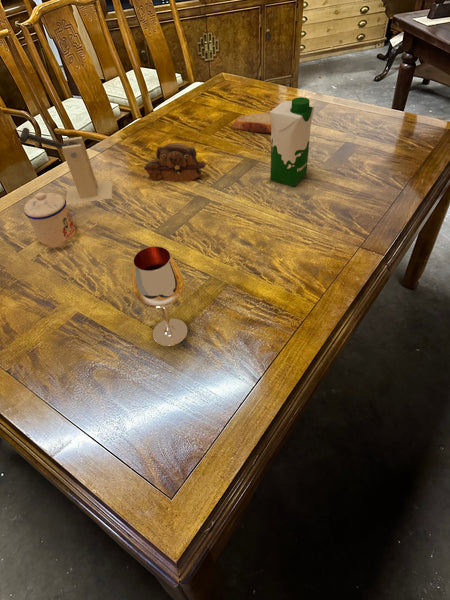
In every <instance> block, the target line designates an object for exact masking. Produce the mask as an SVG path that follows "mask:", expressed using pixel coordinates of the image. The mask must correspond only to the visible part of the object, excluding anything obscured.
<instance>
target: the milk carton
mask: <svg viewBox="0 0 450 600" xmlns="http://www.w3.org/2000/svg"><path fill="white" fill-rule="evenodd" d="M310 102H311V101H310V99H309V98H307V97H305V96H304V97H303V96H302V97H301V96H299V97H294V98H293V99H292V100H286V99H284V100H283V101H282V102H280V103H279V104H278V105H277V106H275V107H274V108H273V109H271V110H270V111H269V112H270V119H271V133H270V140H271V141H270V172H269V173H270V176H269V177H270V178H269V180H270V181H272V182H275V183H278V184H282V185H285V186H289V187H292V188H295V187H296V186H297V185H298V184H299V183H300V182H301V181H302V180H303V179H304V178H305V177H306V176H307V174H308V172H307V171H308V163H309V162H308V161H309V150H310V138H311V127H312V122H313V116H314V111H315V105H313V104H310Z"/></svg>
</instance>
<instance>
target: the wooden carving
mask: <svg viewBox="0 0 450 600" xmlns="http://www.w3.org/2000/svg"><path fill="white" fill-rule="evenodd" d="M155 156H156V159H151V160H149V161H148V162H146V163H145V165H144V167H143V170H144V171H146V173H147V174H148V175H149V177H150V180H152V181H159V180H161V179H162V180H163V181H165V182H192V181H194V180H196V179H197V178H199V177H200V176H201V174H202V173H203V172H202V169H204V168H205V167H206V165H207V162H206V161H203V160H202V161H201V160H200V161H198V159H197V150H196V149H195V147H194V146H188V145H186V144H183V143H178V142H174V143H168V144H165V145H163V146H161V145H159V146H157V148H156V154H155ZM200 169H201V170H200Z"/></svg>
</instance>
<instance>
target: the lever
mask: <svg viewBox="0 0 450 600" xmlns="http://www.w3.org/2000/svg"><path fill="white" fill-rule="evenodd" d="M28 140H29V141H33V142H36V143H40V144H43V145H47V146H51V147H54V148H58V149H61V150H62V147H64V146H71V145H78V144H77V143H74V142H69V145H67V144H64V142H60V141H57V140H53V139H49V138H47V137H44V136H43V137H42V136H39V135H36V134H33V133H30V129H29V128H28V127H23V128H22V131H21V133H20V136H19V142H20V143H22V144H25V143H27V141H28Z"/></svg>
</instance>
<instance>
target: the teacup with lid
mask: <svg viewBox="0 0 450 600" xmlns="http://www.w3.org/2000/svg"><path fill="white" fill-rule="evenodd" d="M23 213H24V215H25V216H26V217H27V219H28V221H29V223H30V224H31V227H32V229H33V231H34V233H35V235H36V237H37V239H38V241H39V242H40V243H41V244H44V245H43V246H44V247H46V248H48V249H49V248H51V249H53V248H54V249H55V248H60V247H61V248H62V247H63V246H66V245H68V244H70V243H71V242H72V241H71V240H69V239H71V238H72V237H73V236H74V235H75V233H76V230H77V229H76V226H75V223H74V220H73V218H72V215H71V213H70V211H69V209H68V205H66V198H65V197H64V196H63V195H61V194H59V193H56V192H47V193H45V192H43V191H40V192H37V193H36V194H35V196H33V197H32V198H31V199H29V200H28V201H27V202H26V203H25V205H24V208H23ZM68 240H69V241H68Z"/></svg>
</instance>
